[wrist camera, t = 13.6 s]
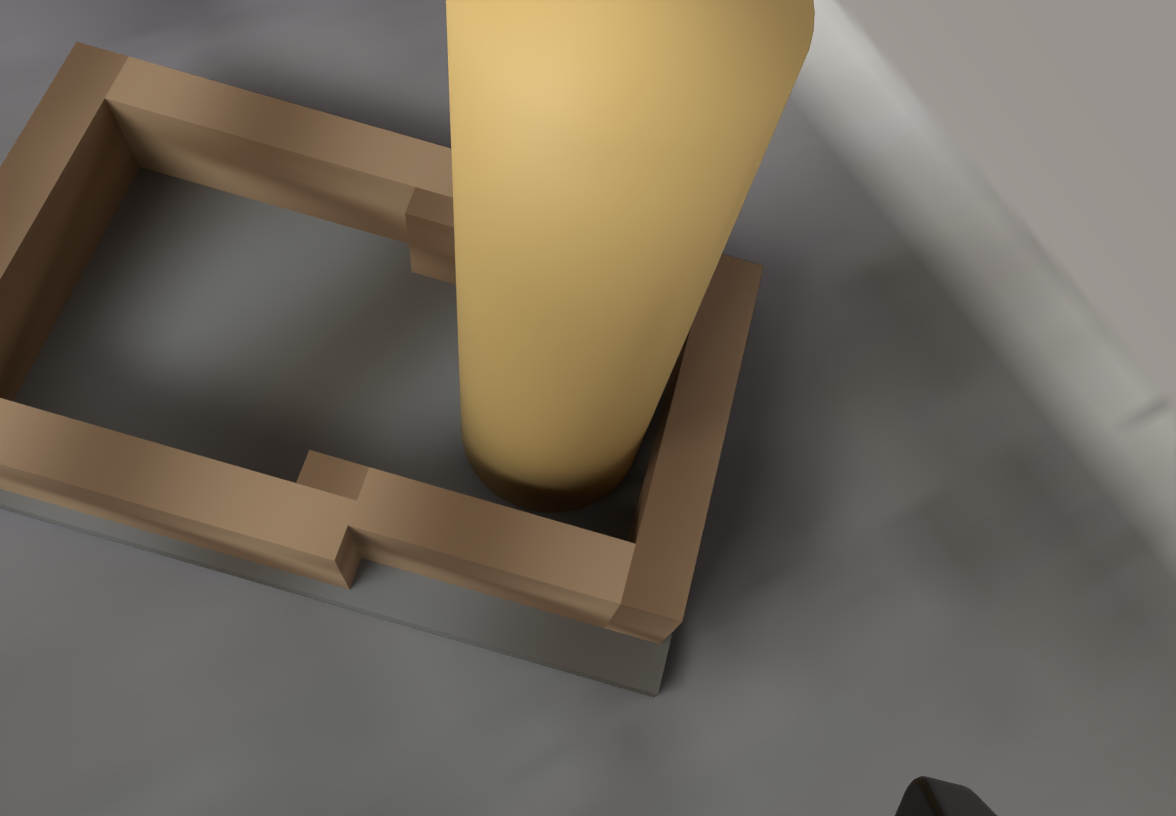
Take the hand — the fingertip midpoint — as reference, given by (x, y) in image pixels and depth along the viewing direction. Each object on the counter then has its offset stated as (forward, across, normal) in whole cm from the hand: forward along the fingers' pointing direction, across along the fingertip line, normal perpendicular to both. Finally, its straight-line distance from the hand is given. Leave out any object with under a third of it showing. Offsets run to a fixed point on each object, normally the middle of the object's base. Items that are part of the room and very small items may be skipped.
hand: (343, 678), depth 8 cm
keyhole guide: (+15, +4, +4) cm, 16 cm away
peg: (+15, 0, +4) cm, 15 cm away
